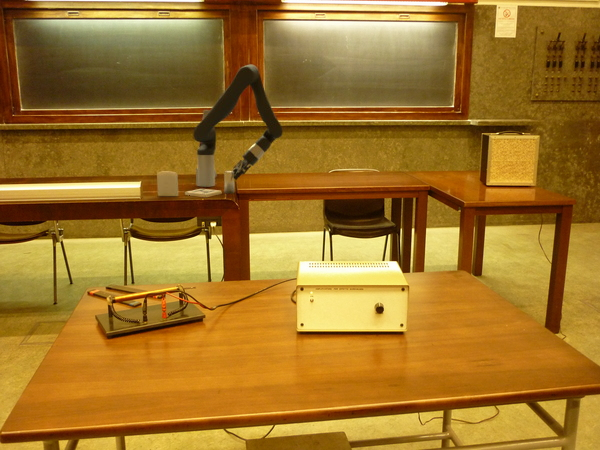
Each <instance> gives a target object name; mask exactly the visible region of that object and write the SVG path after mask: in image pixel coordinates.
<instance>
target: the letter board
mask: <svg viewBox="0 0 600 450" xmlns="http://www.w3.org/2000/svg"><path fill="white" fill-rule="evenodd" d="M222 193H223V192H222V190H217V189H208V188H207V189H206V188H198V189H194V190H188V191H184V195H185V196H189V195H190V196H189V197H200V198H209V197H214V196H219V195H222Z"/></svg>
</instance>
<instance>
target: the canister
mask: <svg viewBox="0 0 600 450" xmlns="http://www.w3.org/2000/svg"><path fill="white" fill-rule="evenodd" d="M233 176H234V171H233V170H225V171H223V179H224V180H223V181H224V182H223V185H224V186H223V188H224V194H227V195H229V194H235V179H234V178H233Z"/></svg>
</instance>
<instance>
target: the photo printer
mask: <svg viewBox="0 0 600 450" xmlns="http://www.w3.org/2000/svg"><path fill="white" fill-rule="evenodd" d="M178 178H179V177H178V173H177V172H175V171H171V170H165V171H164V170H163V171H159V172H157V173H156V185H157V187H156V188H157V196H158V197H178V196H179V184H178V180H179V179H178Z"/></svg>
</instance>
